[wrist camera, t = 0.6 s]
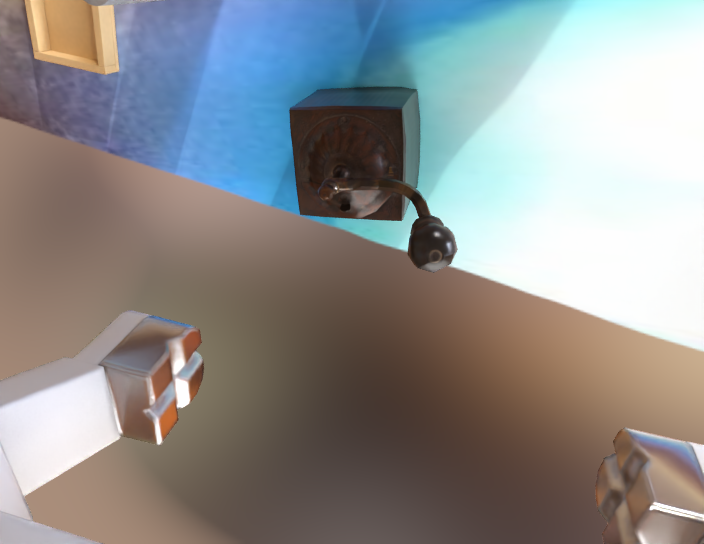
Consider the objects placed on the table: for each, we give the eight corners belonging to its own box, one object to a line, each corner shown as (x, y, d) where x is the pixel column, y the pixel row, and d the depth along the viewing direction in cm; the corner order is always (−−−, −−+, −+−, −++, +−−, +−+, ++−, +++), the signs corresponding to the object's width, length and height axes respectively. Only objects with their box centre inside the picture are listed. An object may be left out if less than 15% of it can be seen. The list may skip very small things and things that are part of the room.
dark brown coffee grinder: (325, 190, 57) (263, 268, 42) (316, 86, 52) (241, 134, 37) (466, 195, 53) (454, 283, 38) (473, 84, 48) (462, 136, 33)
